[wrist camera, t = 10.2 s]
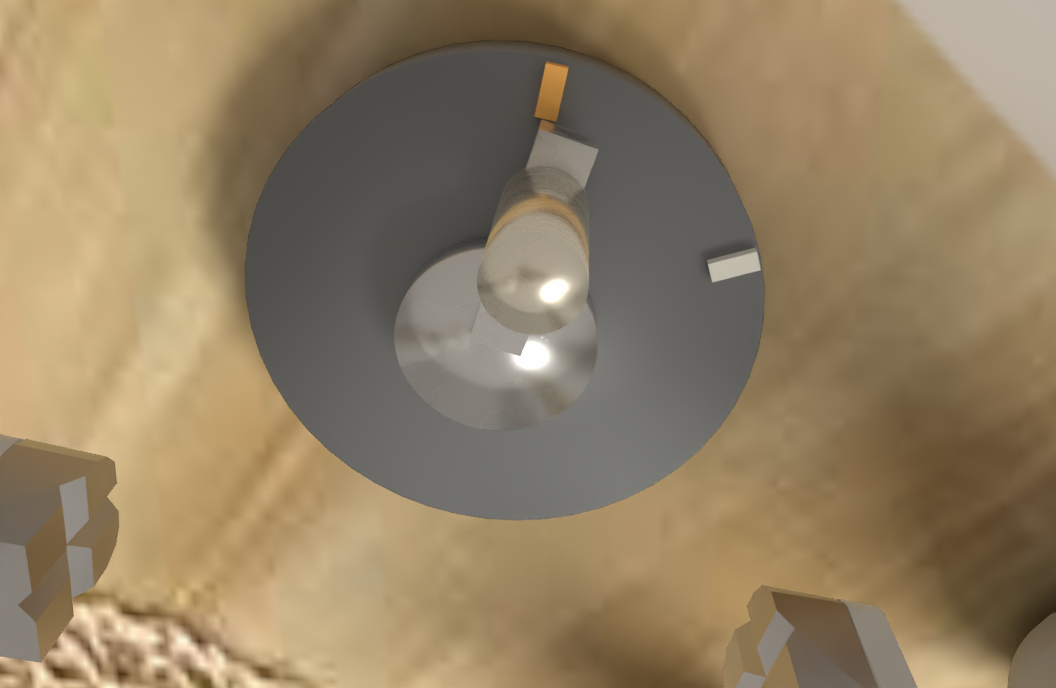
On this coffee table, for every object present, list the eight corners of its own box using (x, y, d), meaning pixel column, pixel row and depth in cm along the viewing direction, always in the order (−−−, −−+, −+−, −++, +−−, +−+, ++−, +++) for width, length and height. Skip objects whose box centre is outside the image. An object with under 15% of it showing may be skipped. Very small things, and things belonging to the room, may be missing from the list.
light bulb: (559, 430, 26) (551, 563, 21) (383, 376, 26) (330, 499, 20) (674, 162, 22) (701, 247, 16) (463, 89, 21) (420, 152, 16)
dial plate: (381, 519, 32) (367, 561, 30) (178, 135, 25) (141, 156, 23) (790, 433, 28) (805, 474, 26) (693, -41, 21) (703, -35, 19)
